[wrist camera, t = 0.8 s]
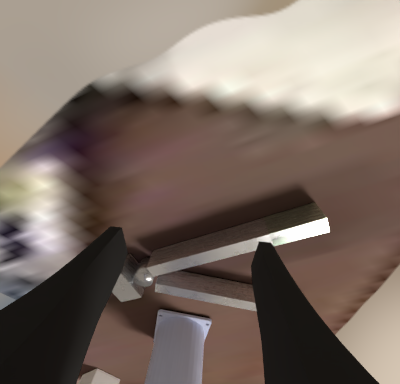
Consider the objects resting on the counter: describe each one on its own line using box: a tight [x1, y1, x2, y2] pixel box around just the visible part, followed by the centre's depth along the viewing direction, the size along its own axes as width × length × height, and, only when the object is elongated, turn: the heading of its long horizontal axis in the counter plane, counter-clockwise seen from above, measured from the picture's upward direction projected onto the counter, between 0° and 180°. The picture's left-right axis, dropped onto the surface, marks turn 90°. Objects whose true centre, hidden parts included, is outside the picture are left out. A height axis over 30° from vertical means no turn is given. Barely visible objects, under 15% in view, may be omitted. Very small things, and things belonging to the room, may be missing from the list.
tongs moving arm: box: [134, 258, 257, 311], centre depth 25 cm, size 21×3×2 cm, turn 79°
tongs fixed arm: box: [112, 202, 330, 302], centre depth 23 cm, size 24×4×3 cm, turn 114°
